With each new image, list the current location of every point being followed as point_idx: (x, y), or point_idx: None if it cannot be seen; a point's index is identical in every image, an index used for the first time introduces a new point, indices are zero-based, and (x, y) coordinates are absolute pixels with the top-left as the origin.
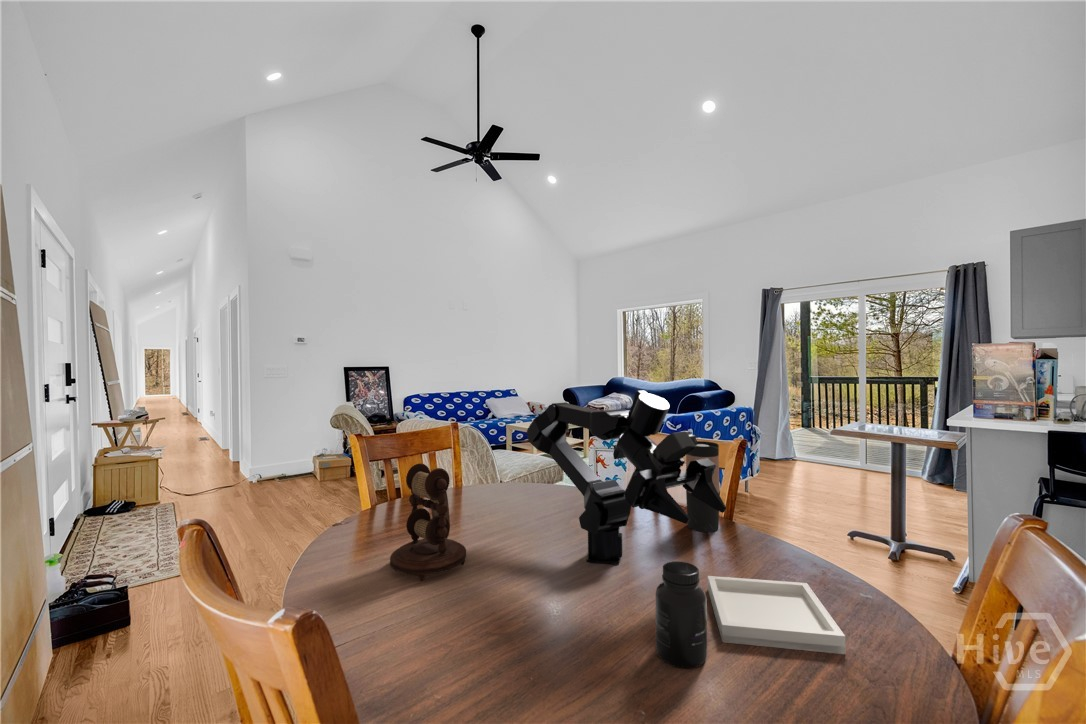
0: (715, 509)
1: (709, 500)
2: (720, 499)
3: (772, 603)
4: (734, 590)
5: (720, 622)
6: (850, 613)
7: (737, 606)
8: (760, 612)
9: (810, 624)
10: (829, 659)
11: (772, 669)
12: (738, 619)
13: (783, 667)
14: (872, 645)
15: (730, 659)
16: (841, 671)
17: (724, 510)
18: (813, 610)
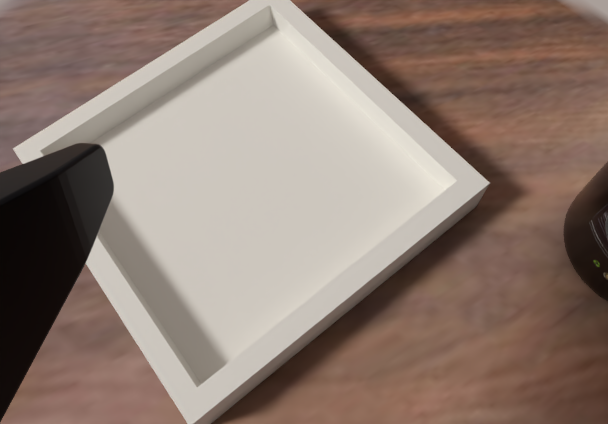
0: (87, 256)
1: (13, 315)
2: (17, 173)
3: (181, 195)
4: (177, 323)
5: (460, 209)
6: (65, 74)
7: (283, 256)
8: (267, 191)
9: (229, 84)
10: (325, 30)
11: (470, 81)
12: (360, 212)
13: (441, 71)
14: (195, 2)
15: (525, 155)
16: (350, 4)
17: (104, 163)
18: (144, 107)
